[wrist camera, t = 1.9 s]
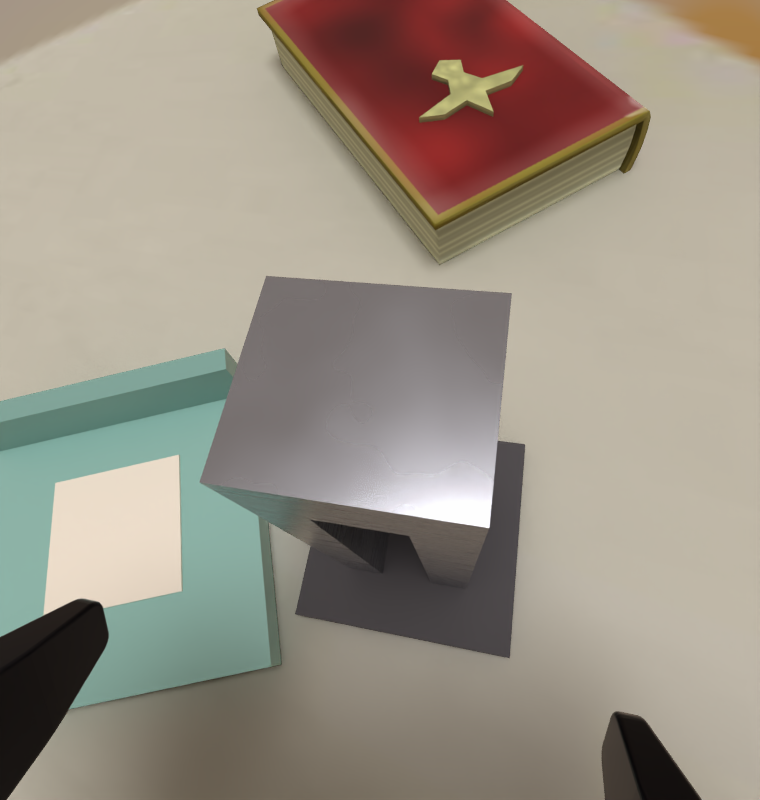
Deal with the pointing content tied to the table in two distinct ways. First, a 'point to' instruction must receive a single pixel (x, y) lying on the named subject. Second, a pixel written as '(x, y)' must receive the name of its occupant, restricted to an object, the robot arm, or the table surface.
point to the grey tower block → (368, 419)
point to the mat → (412, 589)
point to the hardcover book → (457, 108)
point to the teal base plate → (135, 527)
